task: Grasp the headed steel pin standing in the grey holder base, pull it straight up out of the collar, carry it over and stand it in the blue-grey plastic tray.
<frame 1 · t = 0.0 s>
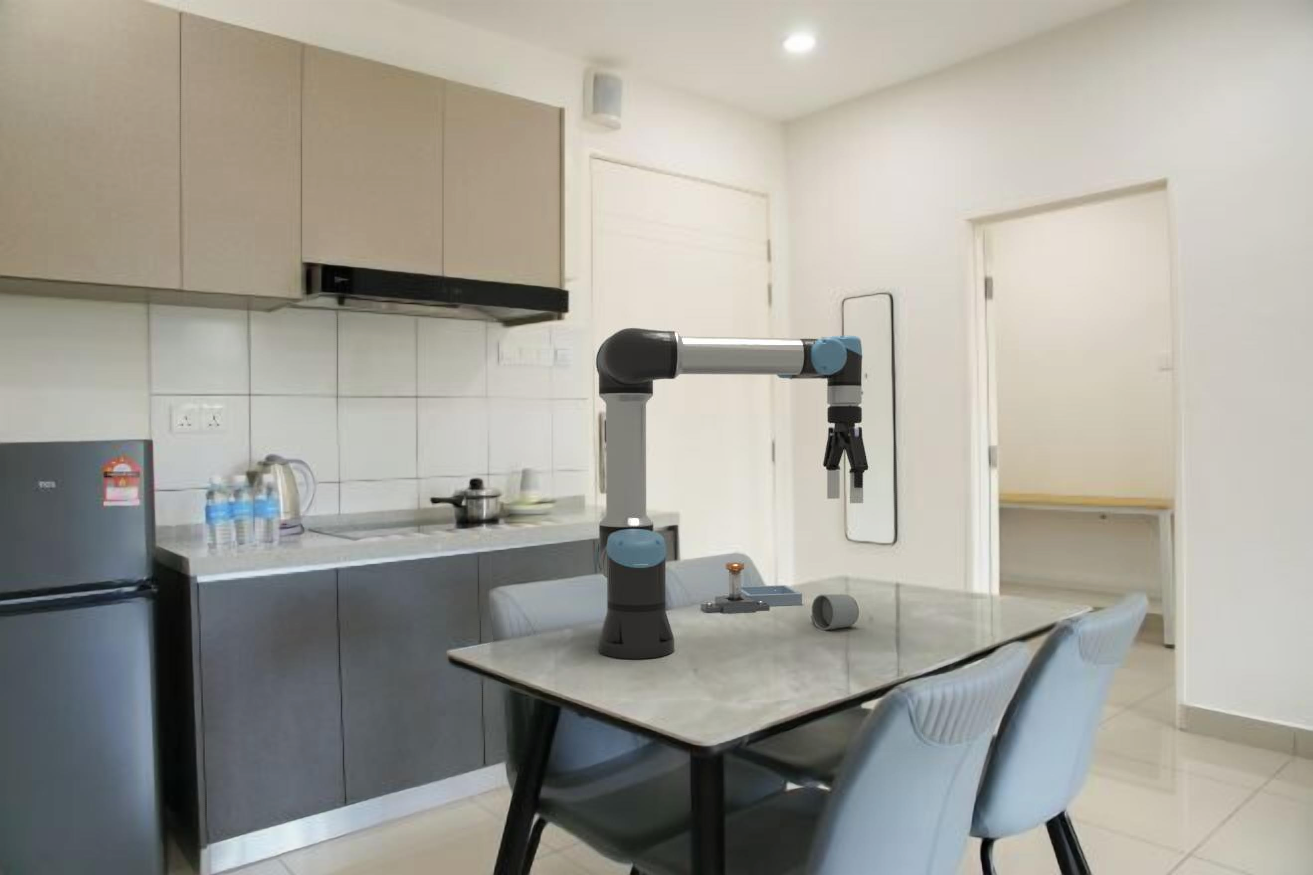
hand: (844, 500, 202), 28 cm above the table, fingers open, 13 cm apart
pin: (735, 586, 221), in the grey holder base
tray: (767, 601, 232), on the table
grey holder base: (735, 609, 221), on the table
ceramic mug: (830, 627, 202), on the table
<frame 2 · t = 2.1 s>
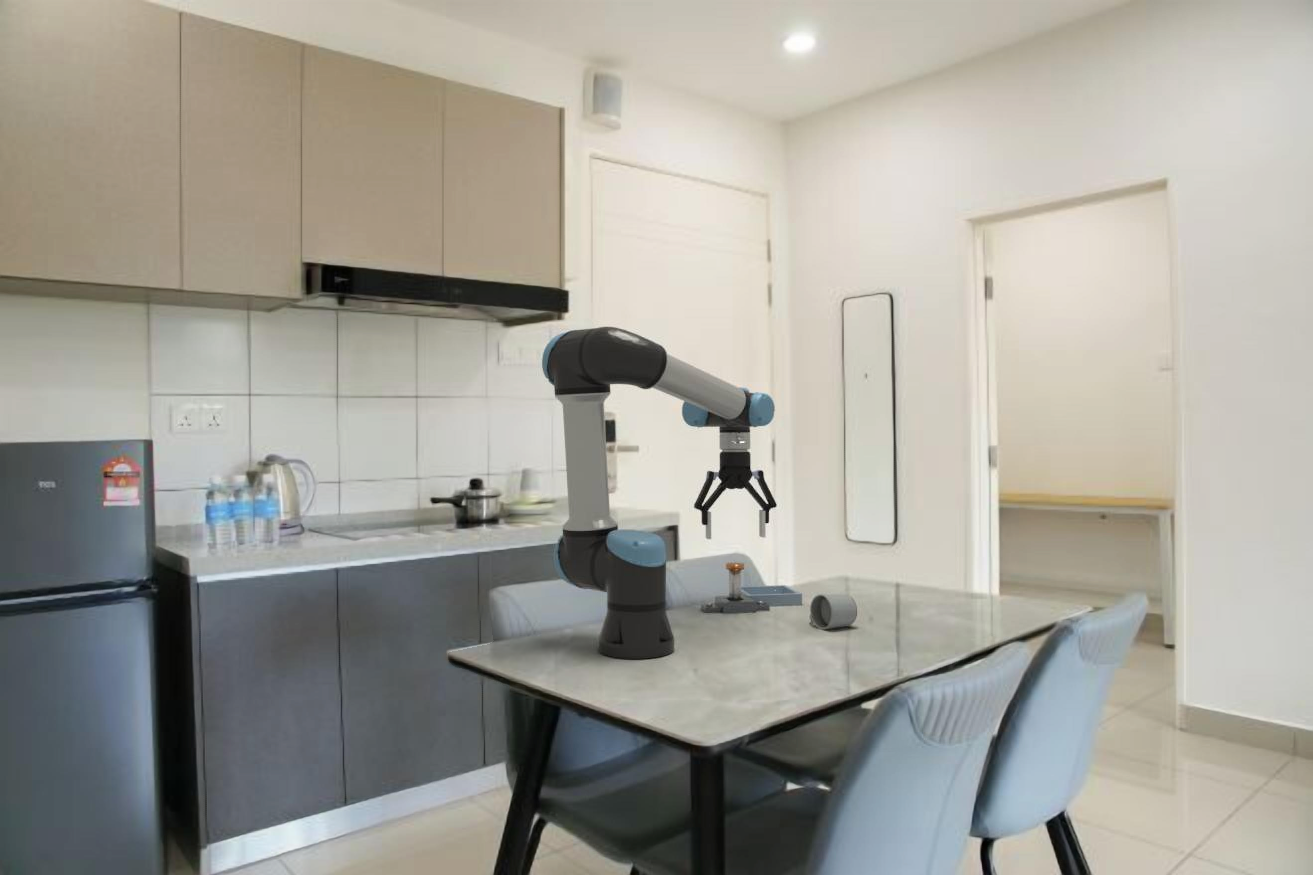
hand: (735, 537, 221), 18 cm above the table, fingers open, 13 cm apart
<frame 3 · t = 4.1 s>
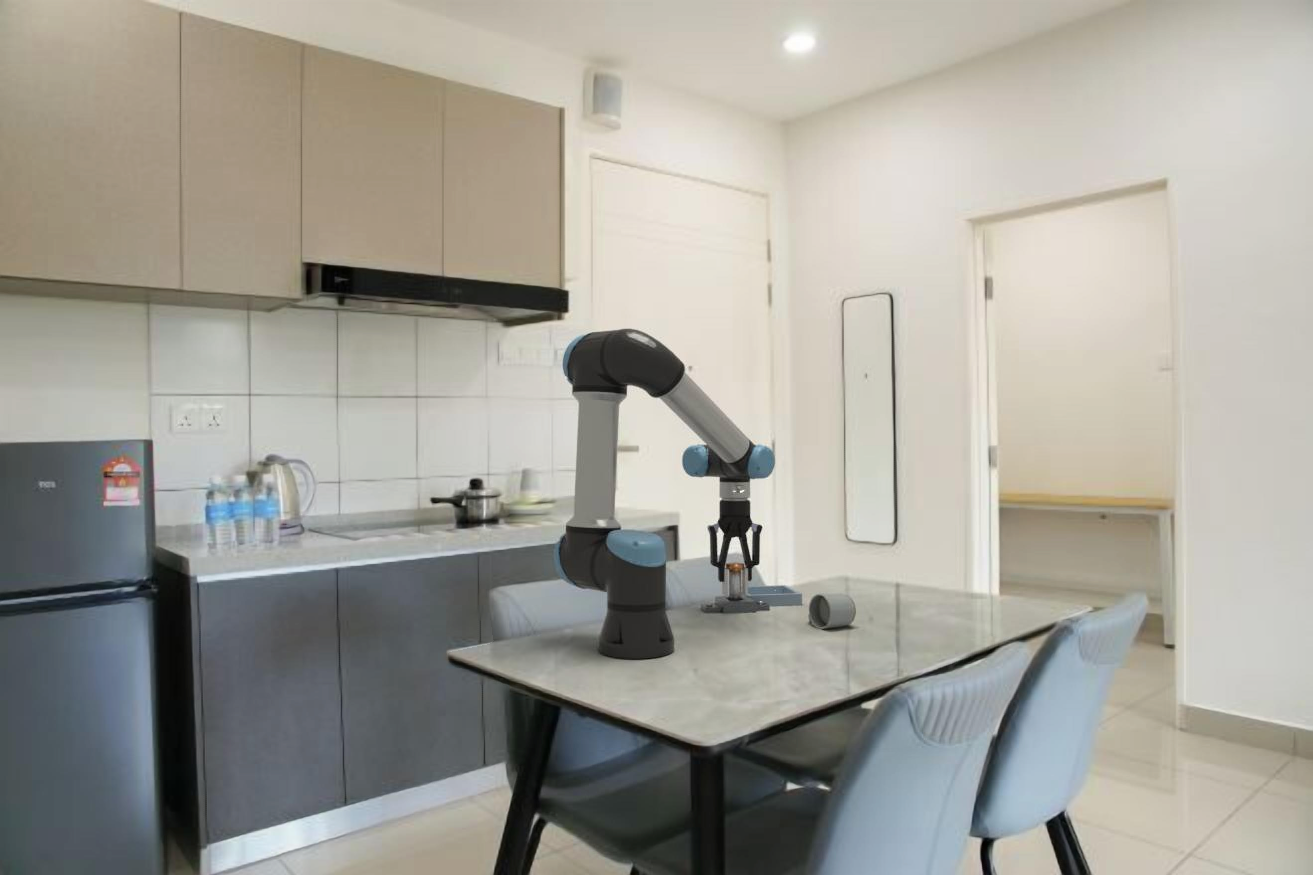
hand: (735, 594, 221), 4 cm above the table, fingers closed on pin, 4 cm apart
pin: (735, 586, 221), in the grey holder base, touching gripper
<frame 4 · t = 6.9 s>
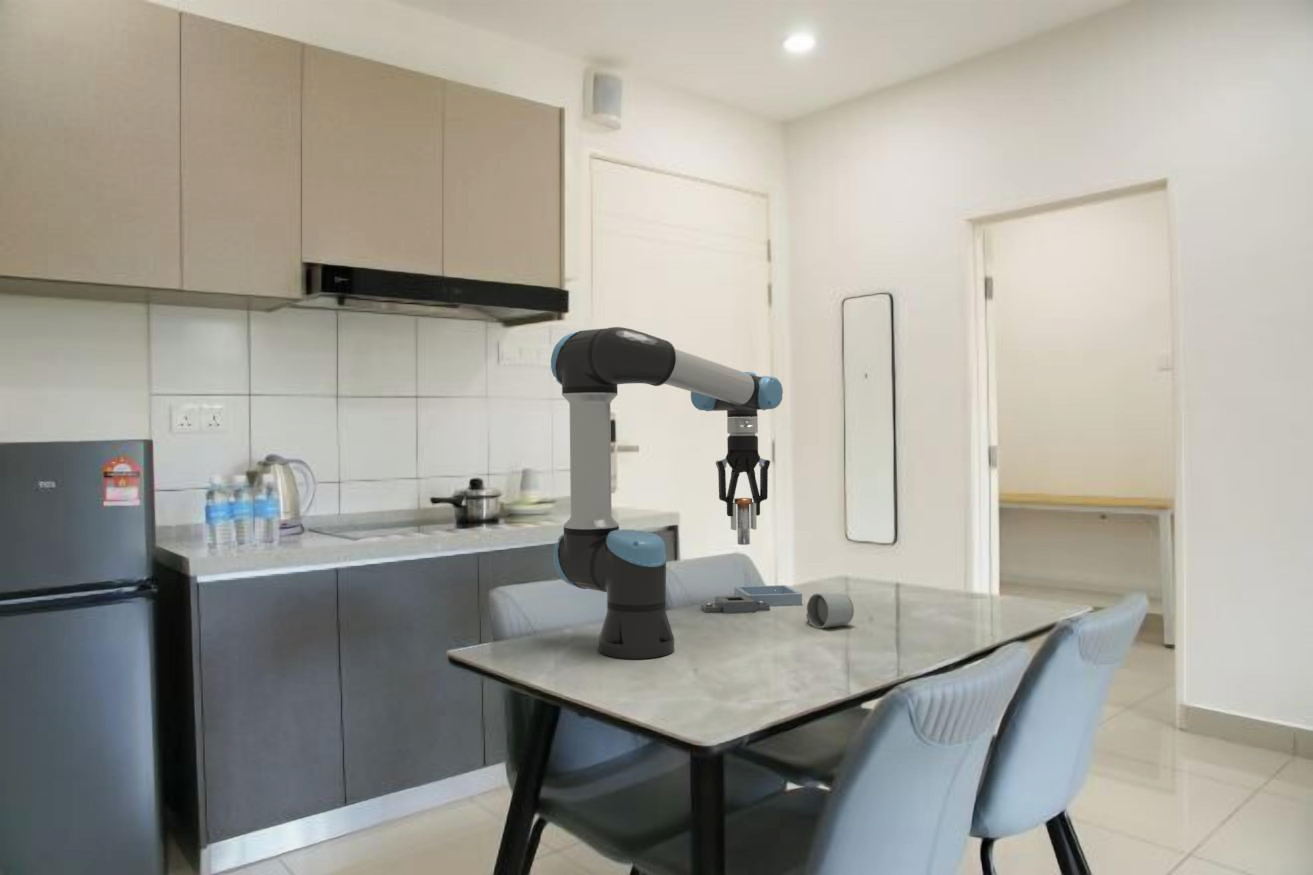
hand: (743, 528, 224), 19 cm above the table, fingers closed on pin, 4 cm apart
pin: (743, 521, 224), point 21 cm above the table, touching gripper
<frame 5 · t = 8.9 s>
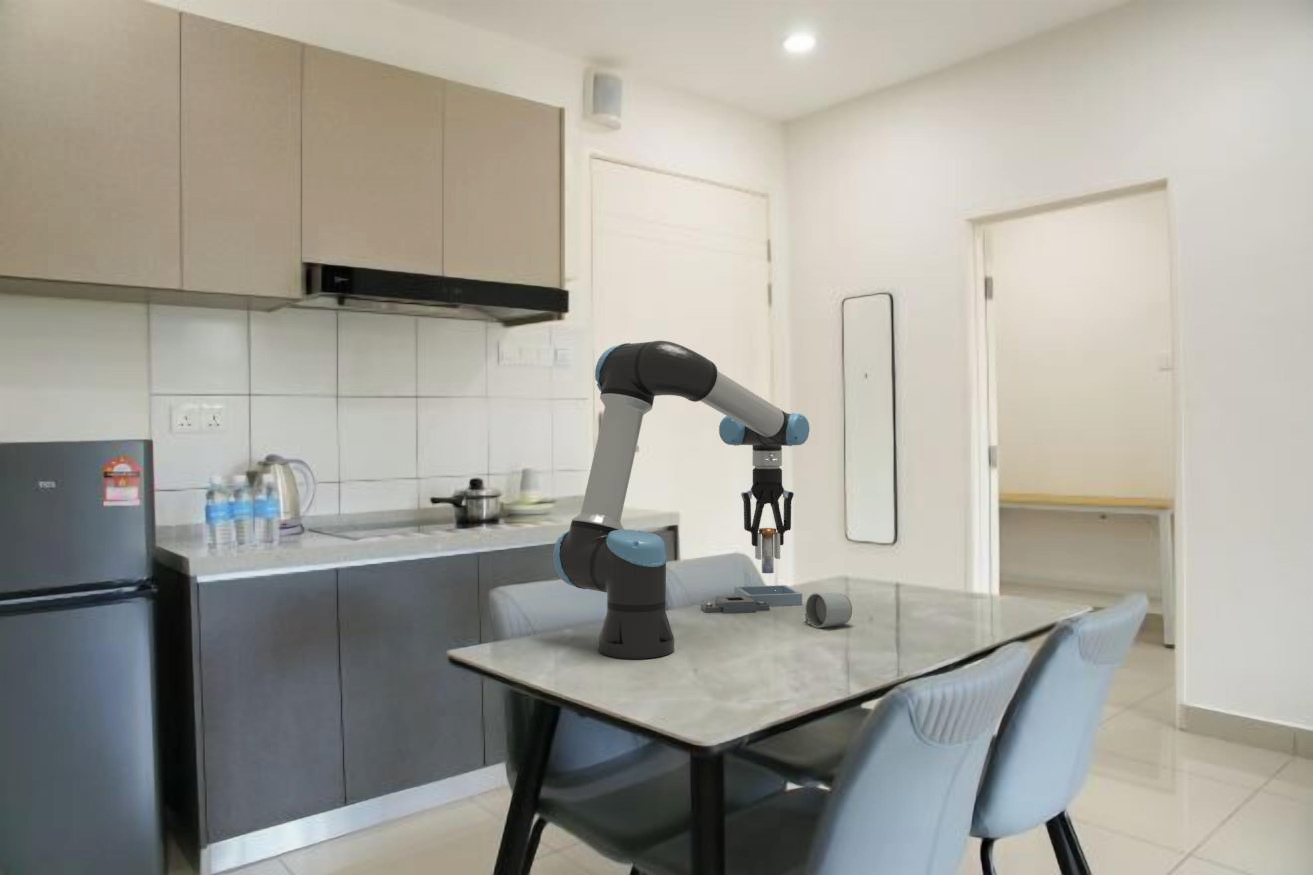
hand: (767, 558, 232), 11 cm above the table, fingers closed on pin, 4 cm apart
pin: (767, 550, 232), point 13 cm above the table, touching gripper
when the fingers open (6 cm above the table, at t = 10.1 s): pin drops 1 cm, resting on tray.
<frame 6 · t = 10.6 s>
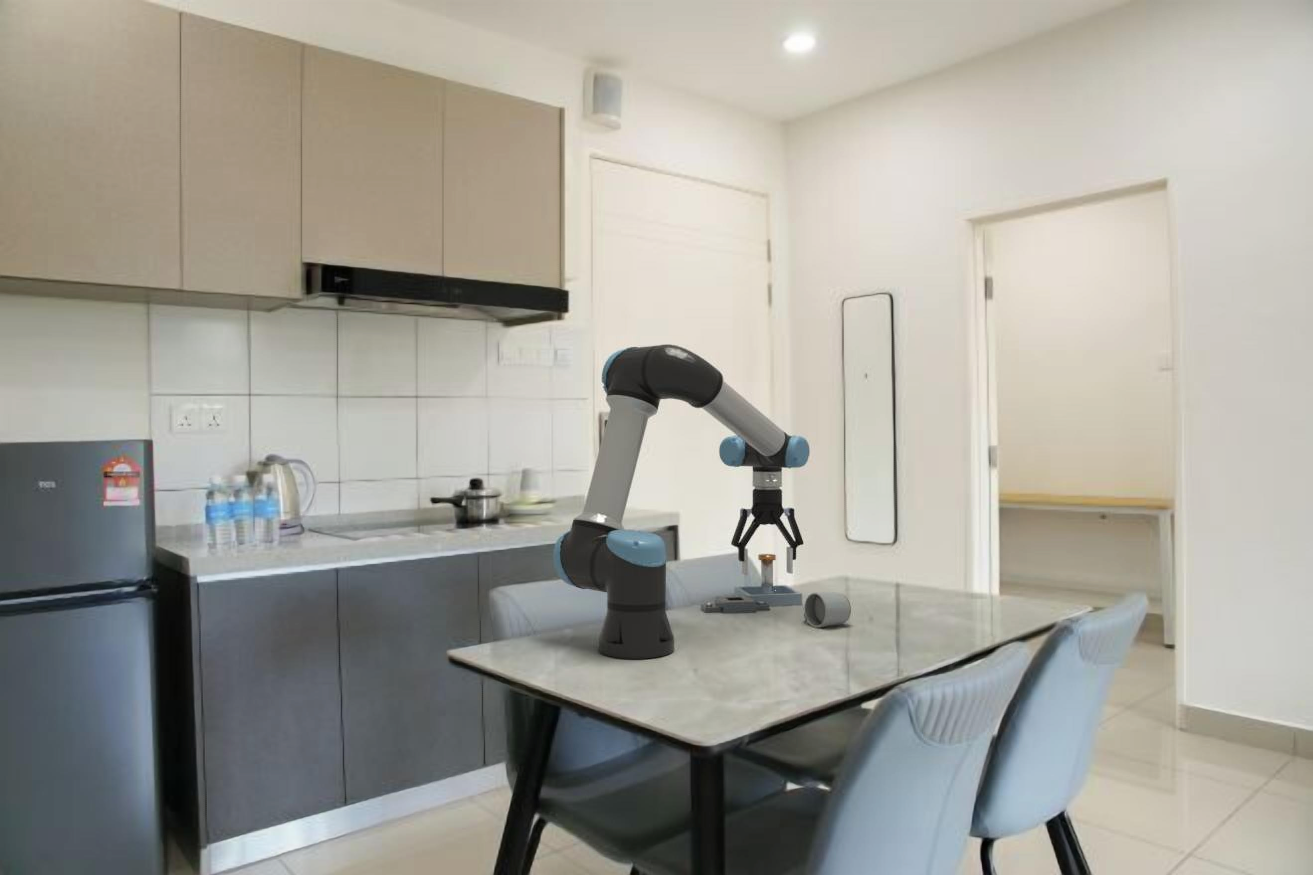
hand: (767, 573, 232), 7 cm above the table, fingers open, 11 cm apart
pin: (767, 576, 232), in the tray, point 6 cm above the table
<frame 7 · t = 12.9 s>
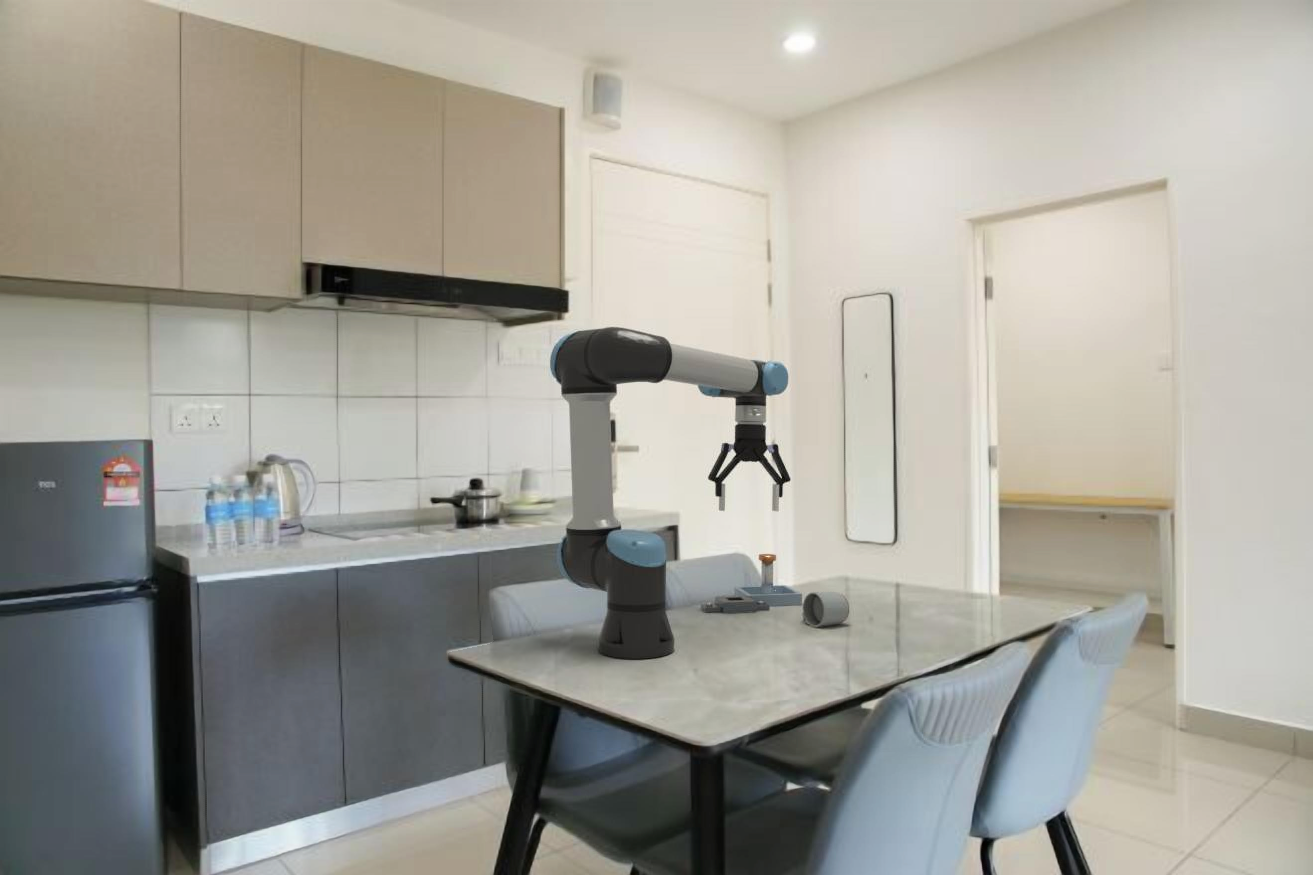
hand: (748, 510, 221), 24 cm above the table, fingers open, 13 cm apart
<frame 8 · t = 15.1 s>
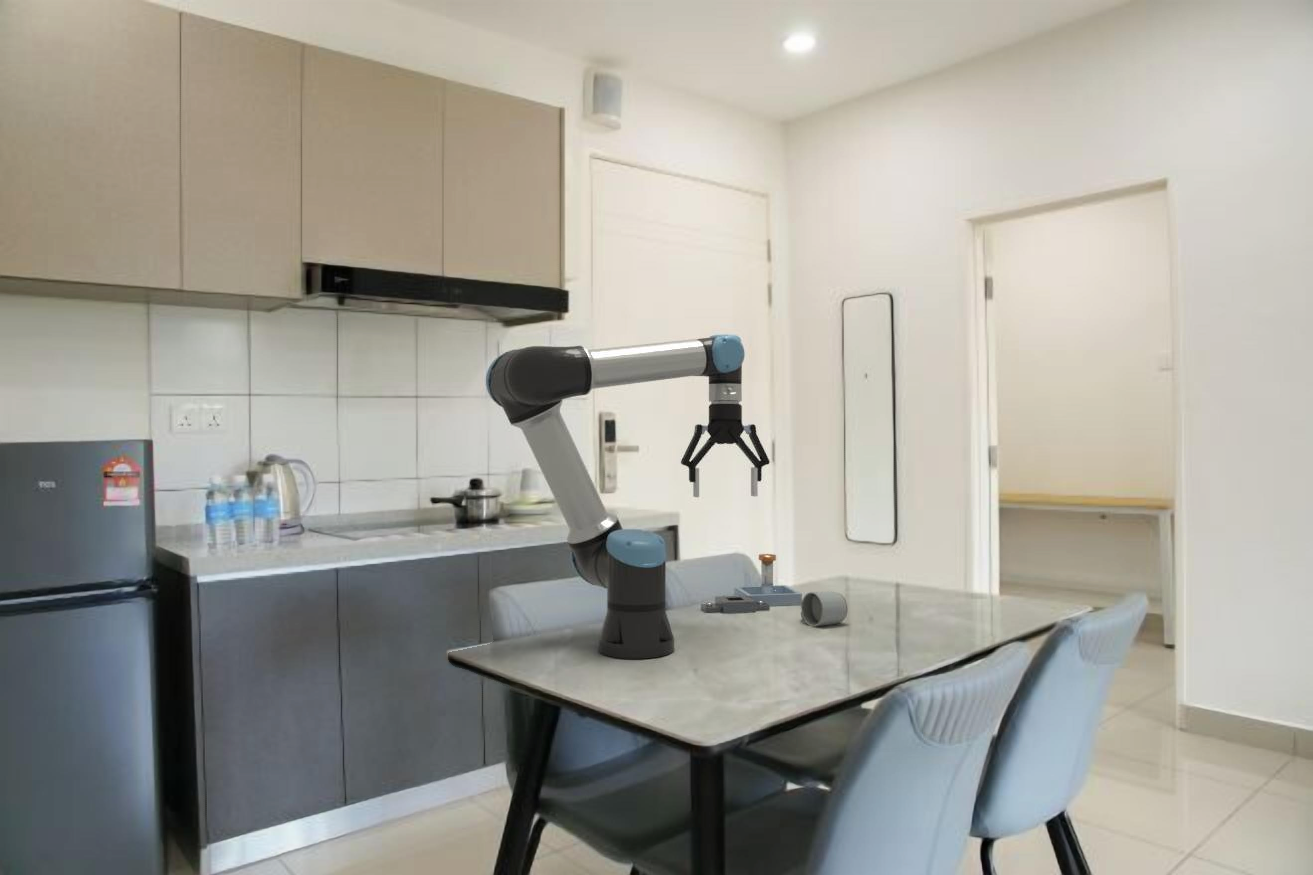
hand: (725, 496, 206), 29 cm above the table, fingers open, 13 cm apart
at the end: pin inside the target area on the tray (0.0 cm from its centre), point 6.2 cm above the tray's base; the gripper is holding nothing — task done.
